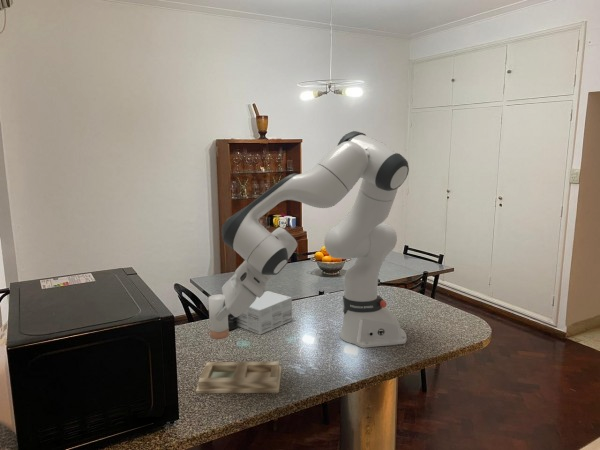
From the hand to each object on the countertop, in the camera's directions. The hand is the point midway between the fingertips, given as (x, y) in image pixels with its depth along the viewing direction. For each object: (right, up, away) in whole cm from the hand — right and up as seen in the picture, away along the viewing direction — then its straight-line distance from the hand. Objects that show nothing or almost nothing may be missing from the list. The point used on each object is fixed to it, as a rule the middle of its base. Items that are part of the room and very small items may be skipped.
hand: (216, 315), depth 121 cm
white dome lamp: (+1, -6, +1) cm, 6 cm away
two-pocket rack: (+6, -19, +2) cm, 20 cm away
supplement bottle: (-3, -13, +40) cm, 42 cm away
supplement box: (+10, -12, +43) cm, 46 cm away
